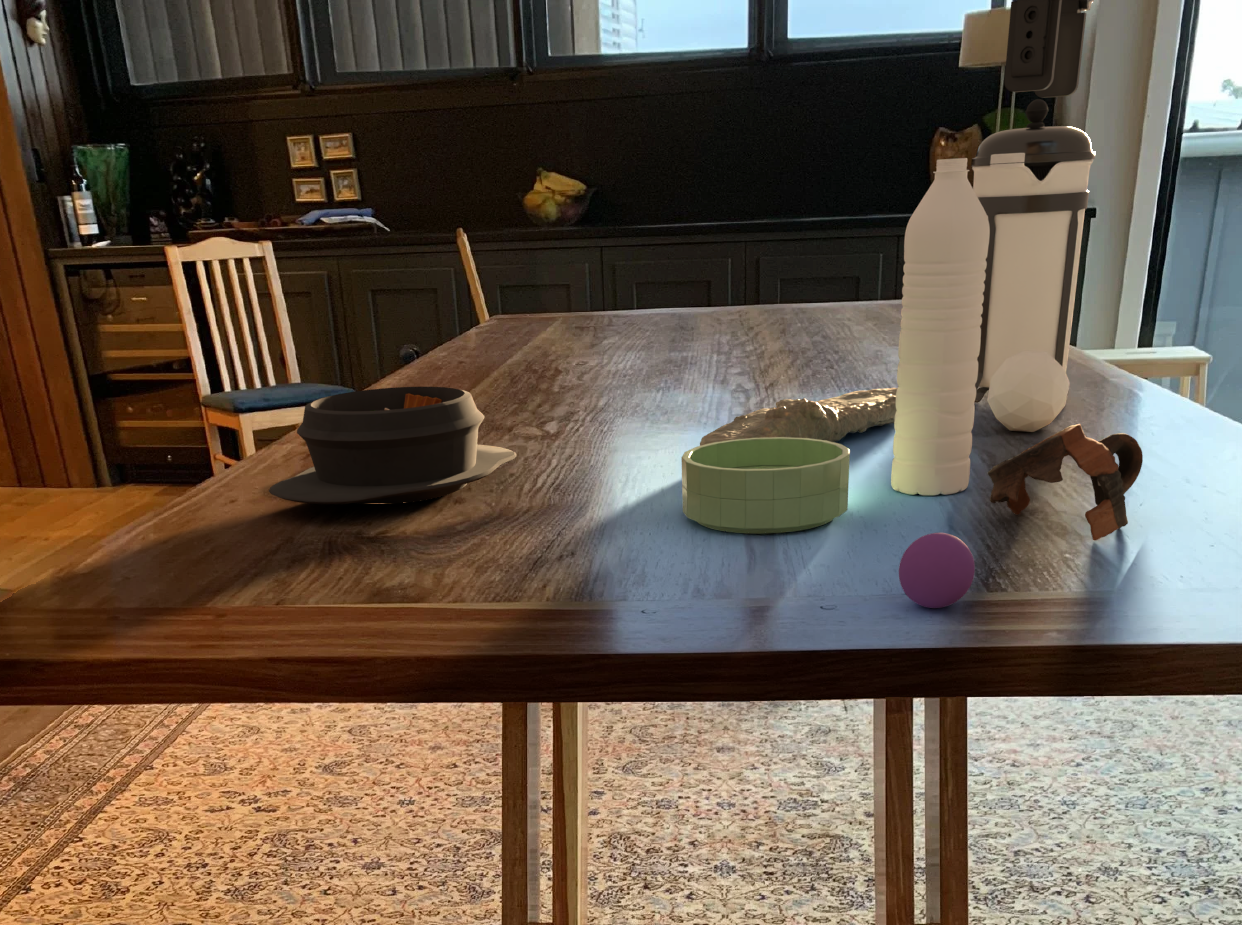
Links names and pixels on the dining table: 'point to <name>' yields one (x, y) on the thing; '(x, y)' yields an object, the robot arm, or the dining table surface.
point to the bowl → (765, 484)
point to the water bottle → (941, 332)
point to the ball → (936, 570)
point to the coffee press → (1031, 240)
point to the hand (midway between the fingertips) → (1042, 93)
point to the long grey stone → (813, 418)
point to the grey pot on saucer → (391, 447)
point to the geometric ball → (1028, 391)
